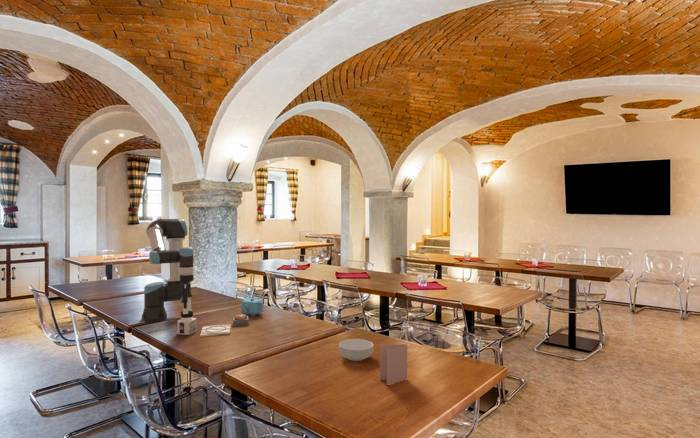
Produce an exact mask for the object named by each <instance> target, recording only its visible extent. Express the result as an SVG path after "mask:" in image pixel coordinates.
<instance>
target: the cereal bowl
mask: <svg viewBox="0 0 700 438" xmlns="http://www.w3.org/2000/svg"><path fill="white" fill-rule="evenodd" d="M374 347H375V345H374V343H373V342H372V341H370V340H367V339H361V338H350V339H349V338H348V339H344V340H342V341H340V342H339V343H338V350H339V353H340V354H341V356H342V357H344V358H345V359H348V360H349V361H353V362H360V361H364V360H366V359H367V358H369V357H371V356H372V354H373V353H374Z"/></svg>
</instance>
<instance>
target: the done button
mask: <svg viewBox="0 0 700 438" xmlns="http://www.w3.org/2000/svg"><path fill="white" fill-rule="evenodd" d="M235 317H236V320H243V319H246V315H245V314H242V313H240V314H237V315H235Z"/></svg>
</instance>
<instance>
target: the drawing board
mask: <svg viewBox="0 0 700 438" xmlns="http://www.w3.org/2000/svg"><path fill="white" fill-rule="evenodd" d="M231 326H232V325H231V323H229V324H216V325H203V326H202V328H201V330H200V331H201V332H200V335H199V337H200V338H204V337H216V336H230V335H231V328H232V327H231Z"/></svg>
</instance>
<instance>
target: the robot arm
mask: <svg viewBox="0 0 700 438" xmlns="http://www.w3.org/2000/svg"><path fill="white" fill-rule="evenodd" d="M145 231H146V236H147V238H148V239H149V243H150V249H151V251H149V255H148V258H149V259H148V260H149V264H151V265H161V264H169V265H168V266H169V278H168V279H167V281H166V283H165V282H164V281H156V282H151V283H148V284H146V285H145V286H144V288H143V289H144V291H143V294H144V297H143V299H144V301H143V303H144V304H143V305H144V308H143V311H142V314H141V317H140V318H141V320H140V321H141V322H143V321H145V322H144V323H155V321H157V322H161V321H164V320H167V319H168V313H167V310H166V308H165V303H167V302H176V301H177V302H180V301H181V302H180V303H181V304H182V311H183V314H188V310H192V298H193V295H192V286H191V282H193V281H194V279H195V278H194V277H195V276H194V270H195V269H196V268H195V267H194V248H193V247H190V246H187V247H186V246H185V247H184V246H183V245H184V244H183V243H184V242H183V241H184V240H185V239H186V237H188V225H187V222H186V220H185V219H182V218H160V219H156V220H153V221H152V222H151V223H150V224H148V226H147V228H146V230H145ZM164 238H166V239H165V240H166V241H167V242H168V250H167V248H166V245H165V241H164Z"/></svg>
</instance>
